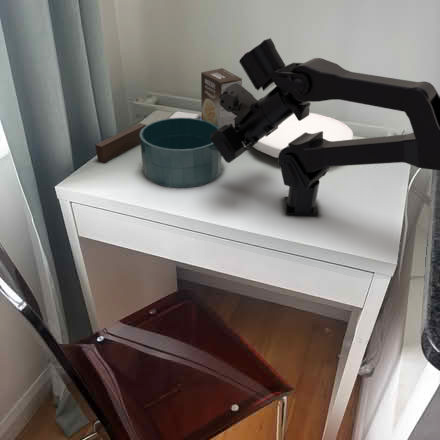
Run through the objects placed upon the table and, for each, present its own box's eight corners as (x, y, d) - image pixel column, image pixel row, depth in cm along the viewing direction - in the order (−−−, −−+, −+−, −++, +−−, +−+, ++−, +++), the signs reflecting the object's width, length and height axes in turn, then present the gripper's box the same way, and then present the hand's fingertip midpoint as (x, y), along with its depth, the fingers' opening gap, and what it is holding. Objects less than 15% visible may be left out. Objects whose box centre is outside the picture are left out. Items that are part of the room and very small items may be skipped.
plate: (245, 106, 123) (343, 109, 123) (244, 130, 127) (339, 133, 127) (249, 137, 100) (369, 140, 100) (247, 165, 104) (363, 169, 104)
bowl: (219, 189, 98) (220, 151, 93) (137, 186, 99) (132, 148, 93) (222, 153, 112) (223, 118, 106) (150, 150, 112) (147, 116, 107)
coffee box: (200, 136, 119) (199, 71, 108) (220, 132, 122) (222, 67, 111) (219, 149, 113) (220, 82, 103) (240, 144, 116) (243, 77, 105)
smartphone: (200, 114, 129) (179, 133, 118) (200, 116, 130) (180, 135, 119) (176, 110, 131) (154, 129, 120) (176, 113, 131) (154, 131, 121)
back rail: (147, 139, 117) (146, 124, 114) (104, 162, 107) (101, 146, 104) (141, 138, 118) (139, 122, 115) (97, 160, 108) (95, 144, 105)
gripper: (270, 61, 90) (222, 106, 101) (220, 86, 78) (171, 134, 89) (301, 110, 92) (250, 149, 103) (256, 141, 80) (204, 181, 92)
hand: (220, 152), depth 97 cm, fingers closed
